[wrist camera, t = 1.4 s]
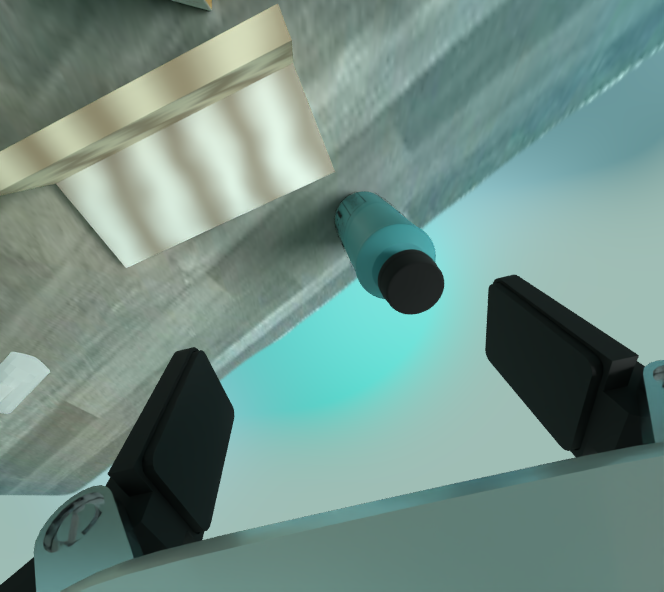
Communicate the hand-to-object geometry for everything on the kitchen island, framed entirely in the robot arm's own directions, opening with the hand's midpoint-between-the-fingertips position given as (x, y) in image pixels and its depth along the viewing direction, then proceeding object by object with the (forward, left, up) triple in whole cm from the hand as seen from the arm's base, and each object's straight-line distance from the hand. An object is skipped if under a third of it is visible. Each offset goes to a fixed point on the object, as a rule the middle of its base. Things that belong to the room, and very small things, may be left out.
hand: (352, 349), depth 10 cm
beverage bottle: (-4, +5, -29) cm, 30 cm away
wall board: (+10, -6, -29) cm, 31 cm away
